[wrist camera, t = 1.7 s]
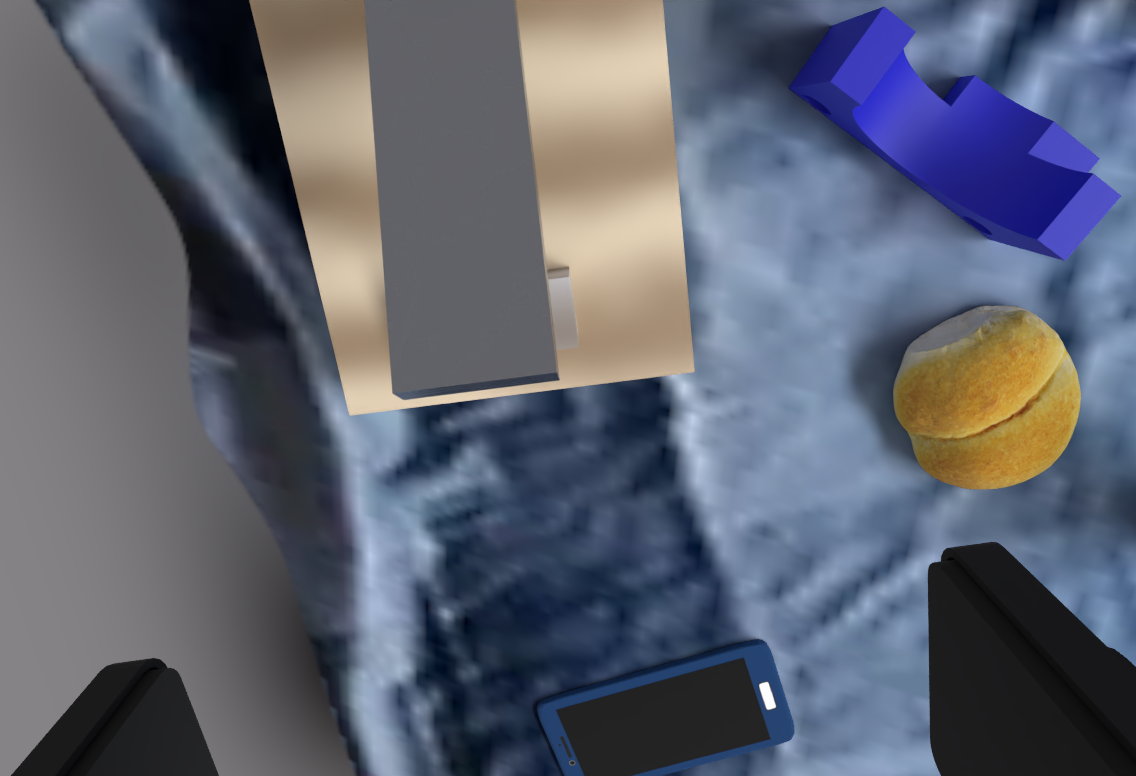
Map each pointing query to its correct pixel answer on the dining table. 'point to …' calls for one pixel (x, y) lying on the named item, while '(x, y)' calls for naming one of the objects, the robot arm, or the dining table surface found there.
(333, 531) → the dining table surface
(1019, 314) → the bread roll
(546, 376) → the grey flat bar
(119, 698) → the robot arm
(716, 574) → the dining table surface
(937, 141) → the cable clip
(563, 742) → the cell phone
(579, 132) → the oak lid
